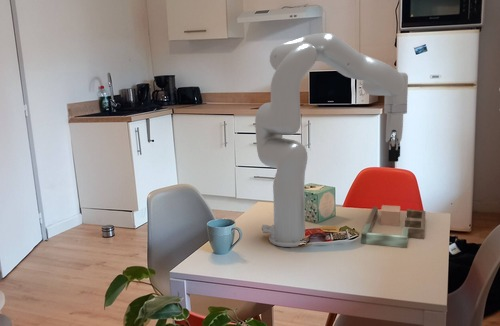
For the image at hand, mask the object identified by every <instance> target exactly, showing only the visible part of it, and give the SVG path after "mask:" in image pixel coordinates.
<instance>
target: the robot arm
mask: <svg viewBox="0 0 500 326" xmlns="http://www.w3.org/2000/svg"><path fill="white" fill-rule="evenodd" d="M316 62H321V63H324V64H325V65H327V66H329V67H330V68H332V70H333V69H334V71H336V72H337V73H339V74H341V76H344V77H346V78H350V79H352V80H359V81H362V89H363V91H364V92H365V93H366V94H367V95H370V96H378V97H379V96H384V106H383V107H384V110H383V113H384V114H386V123H385V124H386V125H385V143H389V145H388V161H387V162H395V163H396V162H397V163H398V162H399V158H400V157H401V141H402V138H403V131H404V115H405V114H408V96H409V95H408V92H409V91H408V90H409V89H408V88H409V85H408V83H409V75H408V74H407V73H406V72H399V70H397V69H395V68H394V67H392V66H391V65H389V64H388V63H386V62H384V61H382V60H379V59H377V58H374V57H371V56H369V55H366V54H365V53H364V54H363V53H361V52H359V51H358V50H356V49H355V48H353V46H351V45H350V44H348V43H347V42H346V41H344V40H343V39H342V38H340V37H338V36H337V35H336V34H334V33H331V32H320V33H312V34H311V33H310V34H308V35H304V36H301V37H299V38H296V39H292V40H290V41H285V42H283V43H281V44H278V45H276V46H275V47H274V48H273V49H272V50H271V52H270V55H269V63H270V66H271V67H272V68H273V69H274V70H275V72H274V74H273V76H272V79H271V82H270V101H268V102H265V103H263V104H262V105H260V106H259V108H258V109H257V111H256V114H255V119H254V121H255V122H254V127H255V128H254V129H255V139H256V152H257V155H258V159H259V160H260V162H261V163H262V164H263V165H264V166H267V167H270V168H274V169H276V172H275V175H274V179H273V183H272V188H273V189H272V192H273V193H272V194H273V196H272V197H273V224H272V225H268V224H262V225H261V231H262V232H263V234H270V235H269V239H268V240H269V242H270V243H271V244H273V245H274V246H277V247H281V248H282V247H283V248H297V247H299V246H298V244H300V243H304V242H306V241H300V240H302V239H303V238H304V237H305V233H306V214H305V213H306V209H305V207H306V205H305V202H306V201H305V199H306V198H305V179H306V177H305V176H306V169H307V164H308V157H309V156H308V152H307V149H306V147H305V146H304V145H303V144H302V143H301V142H300V141H297V140H294V139H289V138H285V137H284V138H283V136H292V135H295V134H297V133H298V131H300V129H301V124H302V123H301V122H302V120H301V119H302V118H301V116H302V114H301V113H302V112H301V99H300V97H301V96H300V94H301V93H300V92H301V91H300V89H301V83H302V81H303V79H304V77H305V76H306V74H307V73H308V72H309V71H310V70H311V69H312V68H313V67H314V65H315V63H316Z"/></svg>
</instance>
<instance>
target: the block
mask: <svg viewBox="0 0 500 326" xmlns="http://www.w3.org/2000/svg"><path fill="white" fill-rule="evenodd" d="M400 221H401V205H386V204H385V205H384V204H382V205H381V210H380V225H381V226H389V227H390V226H393V227H400V223H401V222H400Z"/></svg>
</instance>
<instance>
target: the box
mask: <svg viewBox="0 0 500 326" xmlns="http://www.w3.org/2000/svg"><path fill="white" fill-rule="evenodd" d="M378 210H379V208H378V206H373V207H372V209H371V212H370V214H369V216H368V218H367V221H366V222H365V224H364V227H363V229H362V232H361V234H360V235H361V237H360V238H361V239H360V243H361V244H364V245H366V244H367V245H376V246H386V247H397V248H408V242H409V238H410V239H411V238H412V239H420V240H421V239H423V240H424V238H425V226H426V225H425V224H426V210H416V209H415V210H414V209H412V208H407V209H406V217H405V218H404V226H403V227H402V232H401V235H399V234H397V235H396V234H387V233H376V232H374V233H373V232H372V230H373V229H374V225H375V223H376V220H377V218H378Z"/></svg>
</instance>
